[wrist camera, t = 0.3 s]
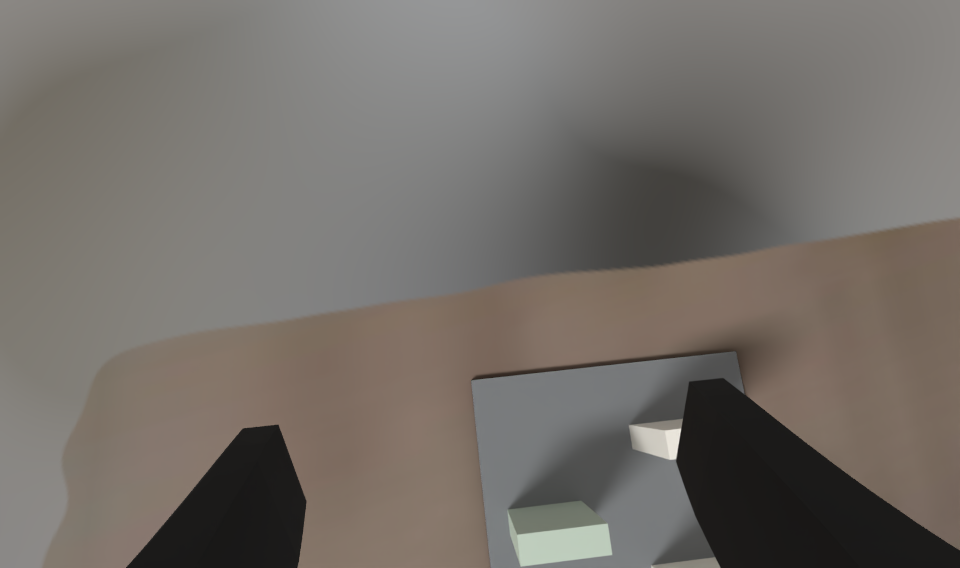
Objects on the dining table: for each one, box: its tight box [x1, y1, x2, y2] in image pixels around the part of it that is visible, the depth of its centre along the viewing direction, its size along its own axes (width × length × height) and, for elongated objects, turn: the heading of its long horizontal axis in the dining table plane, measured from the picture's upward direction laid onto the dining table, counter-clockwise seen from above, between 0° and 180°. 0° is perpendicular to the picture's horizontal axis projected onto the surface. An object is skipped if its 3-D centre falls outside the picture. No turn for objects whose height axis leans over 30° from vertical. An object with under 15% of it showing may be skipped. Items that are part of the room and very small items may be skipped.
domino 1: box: [507, 501, 612, 567], centre depth 33 cm, size 2×5×7 cm, turn 96°
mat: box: [471, 351, 745, 568], centre depth 36 cm, size 26×19×1 cm
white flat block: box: [629, 419, 683, 460], centre depth 34 cm, size 2×5×7 cm, turn 96°
